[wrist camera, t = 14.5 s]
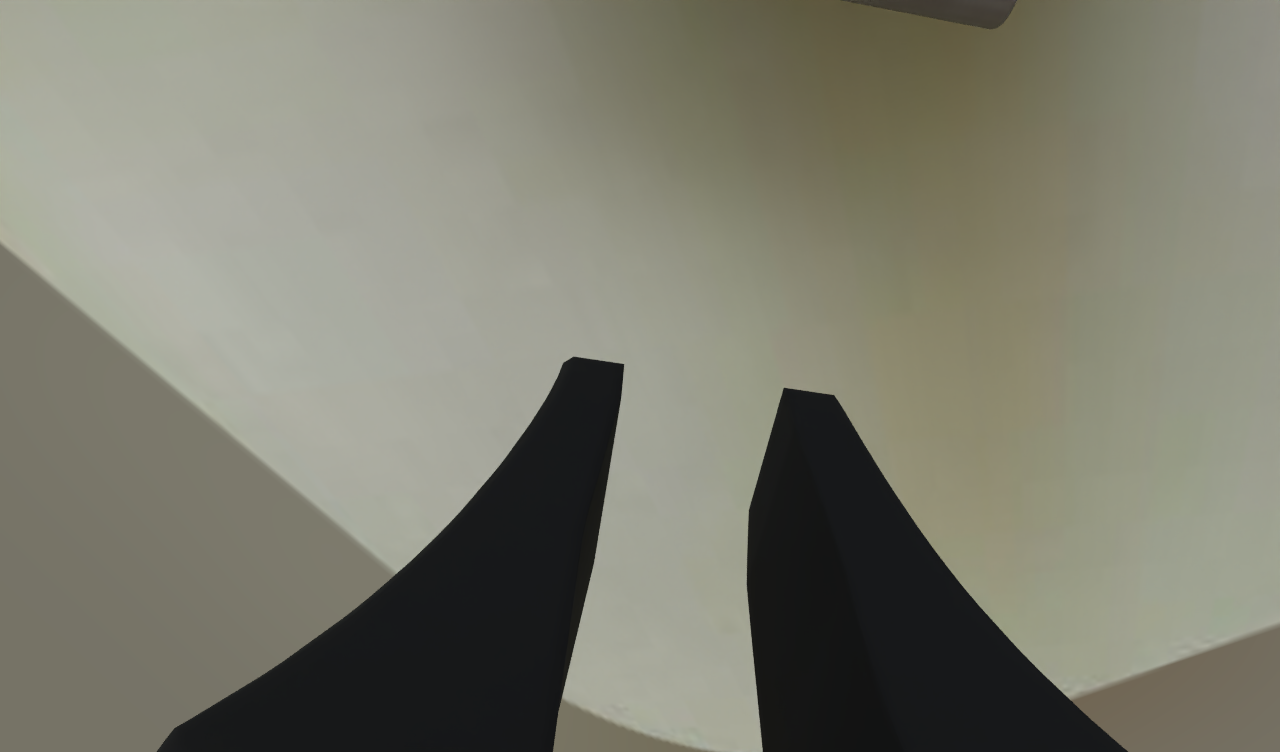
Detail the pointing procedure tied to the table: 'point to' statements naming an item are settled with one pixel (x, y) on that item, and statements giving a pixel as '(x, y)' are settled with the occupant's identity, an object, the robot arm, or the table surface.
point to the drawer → (951, 10)
